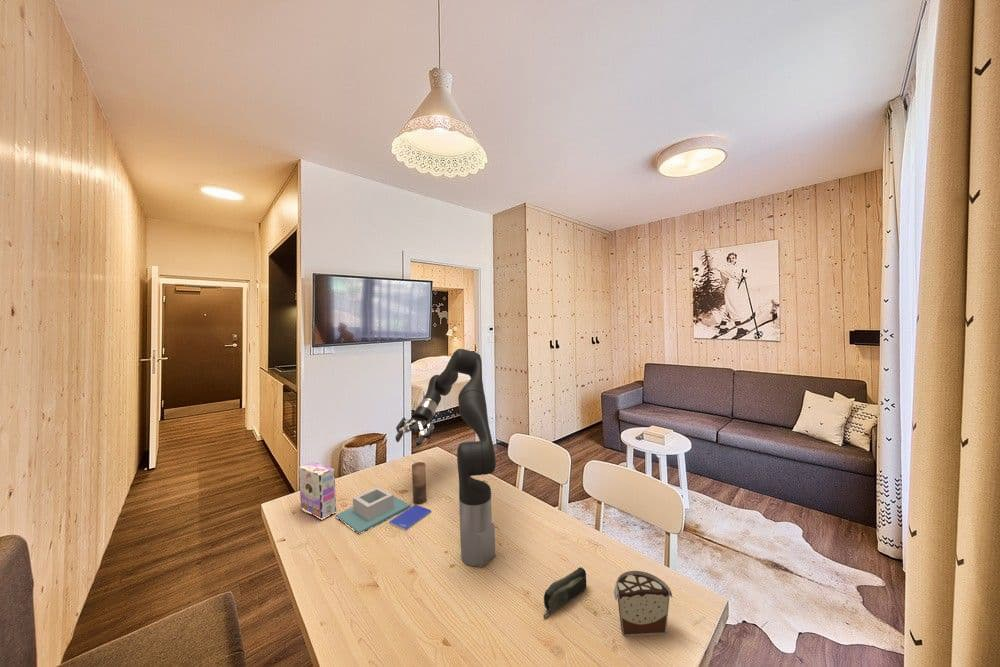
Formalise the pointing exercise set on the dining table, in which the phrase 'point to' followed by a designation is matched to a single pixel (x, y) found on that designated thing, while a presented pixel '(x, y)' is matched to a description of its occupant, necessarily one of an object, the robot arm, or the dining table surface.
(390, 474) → the dining table surface
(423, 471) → the walnut peg
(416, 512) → the hard drive
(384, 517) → the socket plate
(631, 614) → the chocolate drizzled cake
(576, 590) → the black pencil case
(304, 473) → the candy box
